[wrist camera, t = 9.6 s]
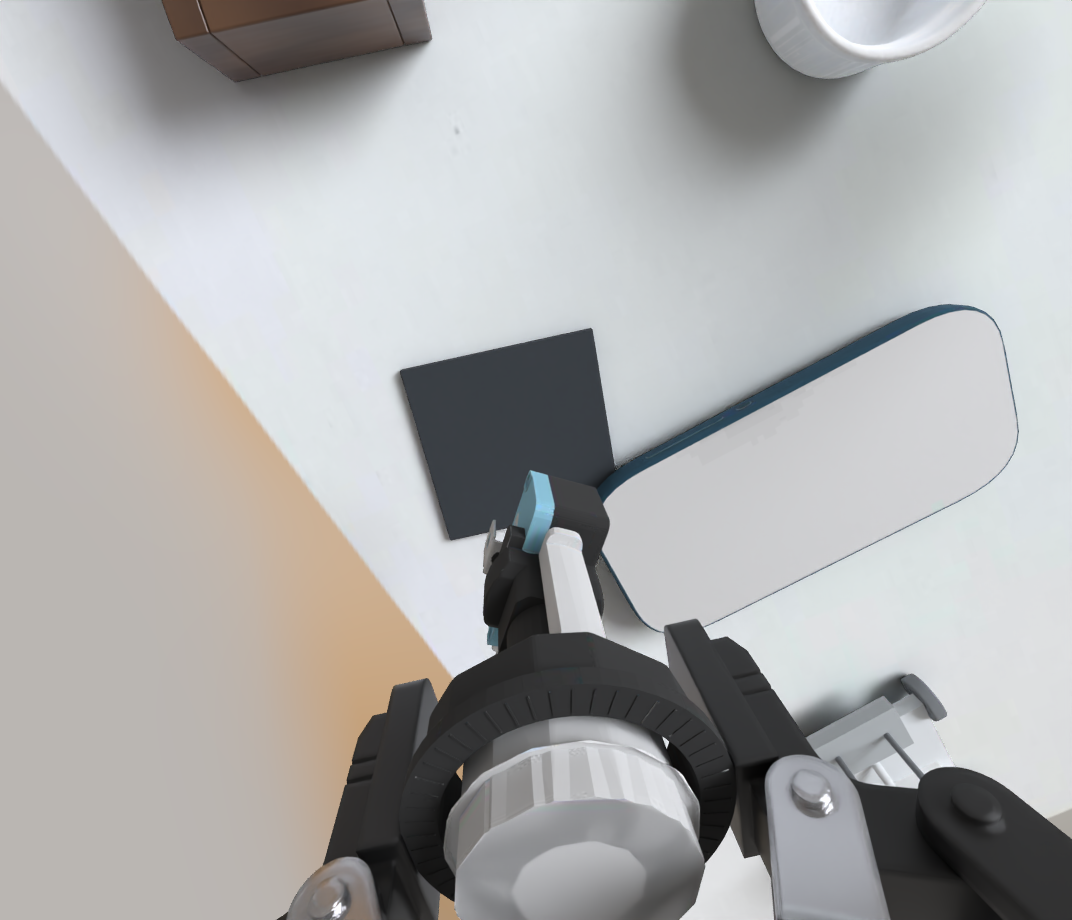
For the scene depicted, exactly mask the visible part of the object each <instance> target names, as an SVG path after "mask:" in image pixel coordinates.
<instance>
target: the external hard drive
mask: <svg viewBox="0 0 1072 920" xmlns="http://www.w3.org/2000/svg"><path fill="white" fill-rule="evenodd" d="M1018 433H1019V430H1018V421H1017V413H1016V407H1015V402H1014V396H1013V391H1012V385H1011V380H1010V374H1009V369H1008V363H1007V358H1006V352H1005V348H1004V344H1003V340H1002V336H1001V332H1000V330H999V328H998V326H997V324H996V322H995V321H994V319H993V318H992V317H990V316H989V315H988V314H987V313H986V312H984V311H982V310H980V309H977V308H975V307H971V306H964V305H952V304H946V305H938V306H932V307H927V308H924V309H921V310H918V311H915V312H912V313H910V314H908V315H906V316H904V317H902V318H900V319H898V320H895V321H894V322H892V323H890V324H888V325H886V326H884V327H882V328H880V329H878V330H877V331H875V332H873V333H871V334H869V335H867V336H865V337H863V338H862V339H860V340H858V341H856V342H854V343H852V344H850V345H848V346H846V347H845V348H843V349H841V350H839V351H837V352H835V353H833V354H831V355H830V356H828V357H826V358H824V359H822V360H820V361H818V362H816V363H814V364H813V365H811V366H809V367H807V368H805V369H803V370H801V371H799V372H798V373H796V374H794V375H792V376H790V377H788V378H786V379H784V380H782V381H781V382H779V383H777V384H775V385H773V386H771V387H769V388H767V389H766V390H764V391H762V392H760V393H758V394H756V395H754V396H752V397H750V398H749V399H747V400H745V401H743V402H741V403H739V404H737V405H735V406H734V407H732V408H730V409H728V410H726V411H724V412H722V413H720V414H718V415H717V416H715V417H713V418H711V419H709V420H707V421H705V422H703V423H702V424H700V425H698V426H696V427H694V428H692V429H690V430H688V431H686V432H685V433H683V434H681V435H679V436H677V437H675V438H673V439H671V440H670V441H668V442H666V443H664V444H662V445H660V446H658V447H656V448H654V449H653V450H651V451H649V452H647V453H645V454H643V455H641V456H639V457H638V458H636V459H634V460H632V461H631V462H629V463H627V464H626V465H624V466H622V467H621V468H619V469H618V470H617V471H615V472H614V473H613V474H611V475H610V476H609V477H608V478H607V479H606V480H605V481H604V482H603V483H602V484H601V485H600V486H599V487H598V489H597V492H598V494H599V496H600V499H601V501H602V503H603V505H604V508H605V510H606V512H607V515H608V517H609V519H610V528H609V532H608V535H607V538H606V540H605V543H604V545H603V548H602V550H601V553H600V554H601V556H602V557H603V559H604V561H605V563H606V564H607V566H608V568H609V570H610V571H611V573H612V575H613V577H614V578H615V580H616V582H617V584H618V586H619V587H620V589H621V591H622V593H623V594H624V596H625V598H626V600H627V601H628V603H629V605H630V607H631V608H632V610H633V611H634V612H635V614H636V615H637V617H638V618H639V619H640V620H641V621H642V622H643V623H644V624H645V625H646V626H648V627H649V628H651V629H653V630H655V631H657V632H662V633H664V626H665V625H669V624H673V623H677V622H682V621H686V620H691V619H695V618H696V619H698V620H699V622H700V623H701V625H702V627H706V626H708V625H710V624H713V623H715V622H717V621H719V620H721V619H723V618H725V617H727V616H729V615H731V614H733V613H735V612H737V611H739V610H741V609H743V608H745V607H747V606H749V605H751V604H753V603H755V602H757V601H759V600H761V599H763V598H765V597H768V596H770V595H772V594H774V593H776V592H778V591H780V590H782V589H784V588H786V587H788V586H790V585H792V584H794V583H796V582H798V581H800V580H802V579H804V578H806V577H808V576H810V575H812V574H814V573H816V572H818V571H820V570H822V569H824V568H826V567H828V566H830V565H832V564H834V563H836V562H838V561H840V560H842V559H844V558H846V557H848V556H850V555H852V554H854V553H856V552H858V551H860V550H862V549H864V548H866V547H868V546H870V545H872V544H874V543H876V542H878V541H880V540H882V539H884V538H886V537H888V536H890V535H892V534H894V533H896V532H898V531H900V530H902V529H904V528H906V527H908V526H910V525H912V524H914V523H916V522H918V521H920V520H922V519H924V518H927V517H929V516H931V515H933V514H935V513H937V512H939V511H941V510H943V509H945V508H947V507H949V506H951V505H953V504H955V503H957V502H959V501H961V500H962V499H964V498H966V497H968V496H970V495H972V494H973V493H975V492H977V491H978V490H980V489H981V488H983V487H984V486H985V485H987V484H988V483H989V482H991V481H992V480H993V479H994V478H995V477H996V476H997V475H999V474H1000V472H1001V471H1002V470H1003V469H1004V468H1005V467H1006V465H1007V464H1008V462H1009V461H1010V459H1011V457H1012V456H1013V454H1014V451H1015V448H1016V445H1017V441H1018Z"/></svg>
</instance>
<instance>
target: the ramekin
mask: <svg viewBox="0 0 1072 920" xmlns="http://www.w3.org/2000/svg"><path fill="white" fill-rule="evenodd" d="M754 2H755V7H756V12H757V16H758V20H759V23H760V26H761V29H762V31H763V33H764V35H765V37H766V39H767V40H768V42H769V44H770V45H771V47H772V48H773V50H774V52H775V53H776V54H777V55H778V56H779V57H780V58H781V59H782V60H783V61H784V62H785V63H787V64H788V65H789V66H790V67H791V68H793V69H795V70H796V71H799V72H800V73H802V74H804V75H807V76H811V77H815V78H823V79H833V78H842V77H845V76H850V75H853V74H857V73H859V72H862V71H865V70H867V69H870V68H873V67H875V66H878V65H880V64H883V63H889V62H895V61H899V60H903V59H906V58H910V57H913V56H916V55H918V54H921V53H923V52H925V51H927V50H929V49H931V48H933V47H935V46H937V45H938V44H940V43H942V42H944V41H945V40H947V39H948V38H949V37H951V36H952V35H953V34H955V33H956V32H957V31H958V30H959V29H961V28H962V27H963V26H964V25H965V24H966V23H967V22H968V21H969V20H970V19H971V18H972V17H973V16H974V15H975V14H976V13H977V12H978V11H979V10H980V8H981V7H982V6H983V5H984V4H985V2H986V0H754Z"/></svg>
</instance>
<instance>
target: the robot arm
mask: <svg viewBox="0 0 1072 920" xmlns="http://www.w3.org/2000/svg"><path fill="white" fill-rule="evenodd" d="M664 635H665V642H666V649H667V656H668V663H669V669H670V671H671V672H672V674H673V675H674V677H675V678H676V680H677V682H678V683H679V685H680V686H681V688H682V689H683V691H684V692H685V694H686V696H687V697H688V699H689V700H691V701H692V702H693V703H694V704H695V705H696V706H698V707H699V708H700V709H701V710H702V711H703V712H704V713H705V715H706V716H707V717H708V718H709V720H710V721H711V722H712V723H713V725H714V727H715V728H716V730H717V732H718V733H719V735H720V737H721V739H722V742H723V744H724V746H725V748H726V750H727V752H728V755H729V757H730V759H731V762H732V764H733V768H734V772H735V778H736V789H737V796H736V805H735V810H734V815H733V818H732V821H731V824H730V826H731V829H732V831H733V833H734V836H735V838H736V840H737V842H738V845H739V847H740V849H741V852H742V854H743V856H744V858H748V857H753V856H757V855H760V856H761V858H762V860H763V862H764V864H765V866H766V869H767V871H768V873H769V875H770V877H771V887H772V900H773V912H774V920H1072V839H1071V838H1070V837H1068V836H1067V835H1066V834H1065V833H1063V832H1062V831H1061V830H1059V829H1058V828H1057V827H1056V826H1054V825H1053V824H1052V823H1051V822H1049V821H1048V820H1047V819H1046V818H1044V817H1043V816H1042V815H1041V814H1039V813H1038V812H1037V811H1035V810H1034V809H1033V808H1032V807H1030V806H1029V805H1028V804H1027V803H1025V802H1024V801H1023V800H1022V799H1020V798H1019V797H1018V796H1017V795H1015V794H1014V793H1013V792H1011V791H1010V790H1009V789H1007V788H1006V787H1005V786H1003V785H1002V784H1000V783H999V782H997V781H995V780H993V779H992V778H990V777H987V776H985V775H983V774H981V773H978V772H975V771H972V770H968V769H964V768H958V767H941V768H936V769H933V770H930V771H929V772H927V773H926V774H924V776H923V777H922V778H921V779H920V782H919V784H918V789H916V788H905V787H894V786H884V785H875V784H868V783H864V782H860V781H857V780H854V779H852V778H849V777H847V776H846V775H845V774H844V773H843V772H842V771H841V770H839V769H838V768H837V767H835V766H834V765H832V764H830V763H829V762H827V761H824V760H822V759H821V758H820V757H819V756H818V755H817V753H816V752H815V751H814V750H813V748H812V747H811V745H810V744H809V742H808V741H807V739H806V738H805V736H804V735H803V733H802V732H801V730H800V729H799V727H798V726H797V724H796V723H795V721H794V720H793V718H792V717H791V715H790V714H789V712H788V711H787V709H786V708H785V706H784V705H783V703H782V702H781V700H780V699H779V697H778V696H777V694H776V693H775V691H774V690H773V689H771V686H770V684H769V682H768V681H767V679H766V678H765V676H764V675H763V673H762V674H761V672H760V669H759V667H758V666H757V665H756V663H755V662H754V660H753V659H752V657H751V656H750V654H749V653H748V651H747V650H746V649H744V648H743V647H741V646H740V645H738V644H737V643H736V642H734V641H733V640H731V639H730V638H728V637H723V638H719V639H714V640H710V639H709V637H708V635H707V633H706V632H705V630H704V628H703V627H702V625H701V623H700V622H699V620H698V619H696V618H695V619H691V620H686V621H682V622H677V623H673V624H669V625H665V626H664ZM437 704H438V701H437V698H436V696H435V693H434V690H433V687H432V685H431V682H430V681H429V679H427V678H426V679H421V680H417V681H412V682H408V683H404V684H399V685H395V686H394V687H393V689H392V692H391V696H390V701H389V706H388V710H387V713H383V714H379V715H374V716H372V718H371V719H370V721H369V722H368V724H367V725H366V727H365V728H364V730H363V731H362V733H361V734H360V736H359V737H358V741H357V744H356V748H355V751H354V755H353V759H352V765H351V766H350V769H349V773H348V777H347V785H345V788H344V791H343V795H342V798H341V802H340V806H339V809H338V813H337V817H336V820H335V824H334V828H333V832H332V835H331V839H330V842H329V846H328V849H327V853H326V857H325V861H324V863H323V866H322V867H321V868H319V869H318V870H317V871H316V872H314V874H312V875H311V876H310V877H309V878H308V879H307V880H306V881H305V883H304V884H303V885H302V887H301V888H300V889H299V891H298V892H297V894H296V896H295V897H294V899H293V901H292V903H291V906H290V908H289V911H288V912H287V913H286V914H284V915H283V916H281V917H280V918H278V919H277V920H438V913H439V900H440V892H438V891H437V890H436V889H435V888H434V887H433V886H431V885H430V884H429V883H428V882H427V881H426V880H425V879H424V878H423V877H422V875H421V874H420V873H419V872H418V870H417V869H416V867H415V864H414V862H413V860H412V857H411V855H410V853H409V851H408V848H407V846H406V844H405V841H404V839H403V837H402V834H401V831H400V817H399V813H400V805H401V798H402V793H403V787H404V782H405V778H406V774H407V771H408V767H409V765H410V763H411V760H412V758H413V756H414V754H415V752H416V750H417V749H418V747H419V745H420V744H421V742H422V741H423V739H424V738H425V737H426V735H427V730H428V724H429V718H430V715H431V713H432V712H433V710H434V708H435V707H436V705H437Z"/></svg>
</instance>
